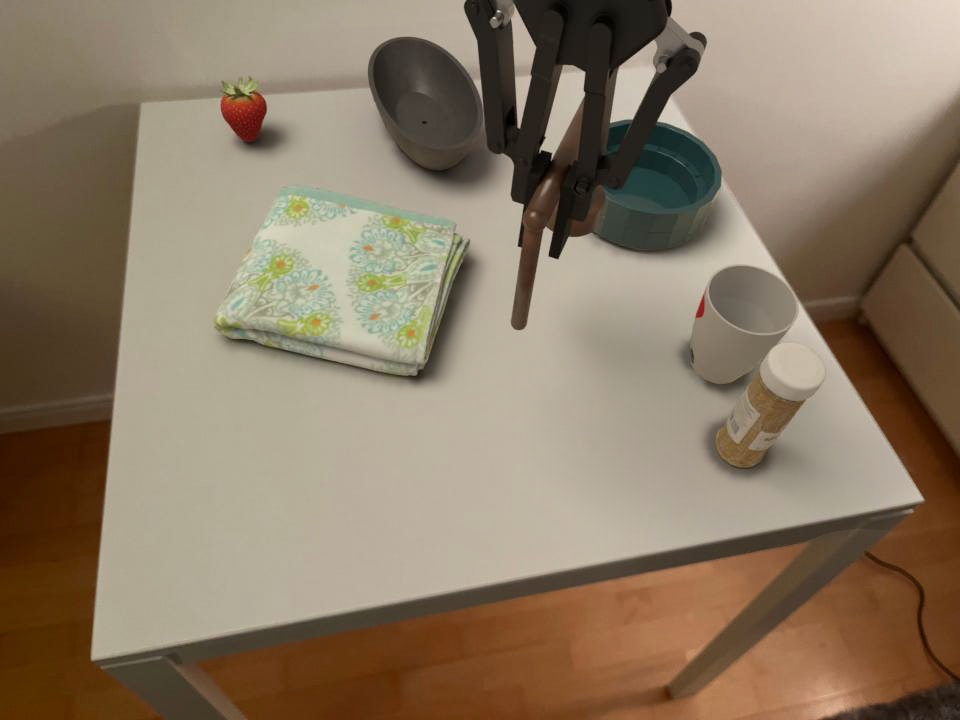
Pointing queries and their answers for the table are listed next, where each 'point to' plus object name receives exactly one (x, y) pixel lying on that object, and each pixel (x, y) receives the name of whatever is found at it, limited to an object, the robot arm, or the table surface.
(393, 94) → the bowl
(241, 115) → the fruit
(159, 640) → the table surface
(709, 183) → the mixing bowl
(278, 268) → the towel
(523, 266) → the bent wooden rod
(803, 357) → the sprinkles bottle
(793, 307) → the cup
